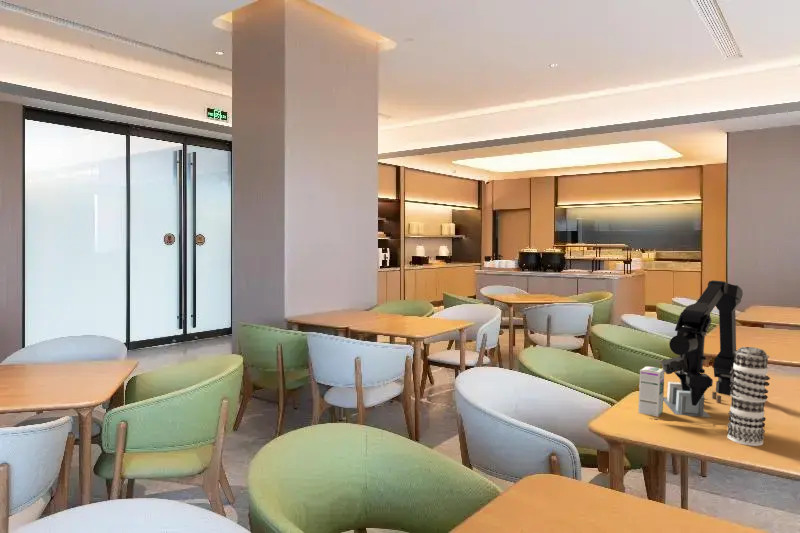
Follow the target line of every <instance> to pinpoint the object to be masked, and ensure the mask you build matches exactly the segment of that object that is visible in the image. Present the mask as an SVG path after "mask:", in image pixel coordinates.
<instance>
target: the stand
mask: <svg viewBox="0 0 800 533" xmlns="http://www.w3.org/2000/svg"><path fill="white" fill-rule="evenodd" d="M711 399H712V400H716V402H715V403H717V404H721V403H722V396H721V395H718V393H717V392H716V391H712V392H711Z"/></svg>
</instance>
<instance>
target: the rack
mask: <svg viewBox="0 0 800 533" xmlns="http://www.w3.org/2000/svg"><path fill="white" fill-rule="evenodd" d="M676 391H677V387H676V386H672V398H671V402H669V401H668V400H667V396H663V403H664V404H665V405H666V406H667V407H668V408H669V409H670V410H671V411H672V413H673V414H674V415H677V416H678V415H679V416H690V417H701V418H702V417H703V418H711V415H710V414H708V412H707V411H706V410H705V409H704V405H705V396H704V397H701V399H700V400H699V409H698V413H687V412H685V407H686V396H685V395H681V409H680V412H678V411H677V410H676V397H677V394H676Z"/></svg>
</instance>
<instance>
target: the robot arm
mask: <svg viewBox="0 0 800 533" xmlns="http://www.w3.org/2000/svg"><path fill="white" fill-rule="evenodd" d="M743 294H744V293H743V289H742V288H741V287H740V286H739V285H737V284H731V283H728V282H726V281H724V280H709V281H708V283H707V287H706V288H705V289H704V291H703V292H702V294H701V295H700V296H699V298H698V299H697V300H696V302H695V303H693V304H689V305H687V306H686V308H684V309H683V311H682V312H681V313H680V315H679V317H678V320H677V323H676V325H675V329H674V331H675V332H676V335H674V336H672V337H671V339H670V341H669V343H668V344H669V349H670V350H671V352H672V353H673V354H675V355H677V356H676V357H672V358H671V357H670V358H667V359H663V360H661V361H660V364H661V367H662V369H664V373H665V374H666V375H671V374H675V376H676V377H677V378H679V381H680V383H681V386H682V391H690V392H691V402H692V405H693V406H696V405H697V403H698V402H699V400H700V399H701V397H702V396H703V394H704V395H705V393H706V391H707V390H708V389H709V388H710V387H711V388H712V387H713V383H714V382H713V381H714V380H713V378H711V376H709V375H708V374H706V373H705V372H706V371H705V369H704V368H703V367H704V360H705V361H706V359H707V358H706V357H707V356H706V355H704V353H705V339H706V338H705V337H706V335H707V332H708V331H709V328H710V325H711V324H712V318H711V313H712V311H713V310H714V309H715V308H716V309H717V310H718V318H719V319H718V320H719V323H718V324H719V347H720V348H719V352H718V354H716V356H715V357H714V362H713V376H714V378H718V379H717V380H716V382H715V392H717V394H721V395H725V396H726V395H727V396H730V391H731V390H732V388H731V387H730V383H732V382H731V381H730V378H731V377H733V376H732V375H731V374H730V371H731V370H732V369H731V367H733V365H734V361H735V353H734V352H736V351H738V349H737V329H736V328H737V327H736V324H737V323H736V309H737V308H738V307H739V305H740V304H741V302H742V298H743ZM733 374H734V372H733ZM733 380H734V379H733Z"/></svg>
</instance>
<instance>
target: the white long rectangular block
mask: <svg viewBox="0 0 800 533" xmlns="http://www.w3.org/2000/svg"><path fill="white" fill-rule="evenodd" d="M681 395H685V396H686V407H685V412H687V413H698V409H699V402H698V403H697V405H696V406H693V405H692V402H691V392H690V391H682V390H677V397H676V410H677V411H678V412H680V409H681ZM702 397H704V398H705V393H704V394H703V396H702Z"/></svg>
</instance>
